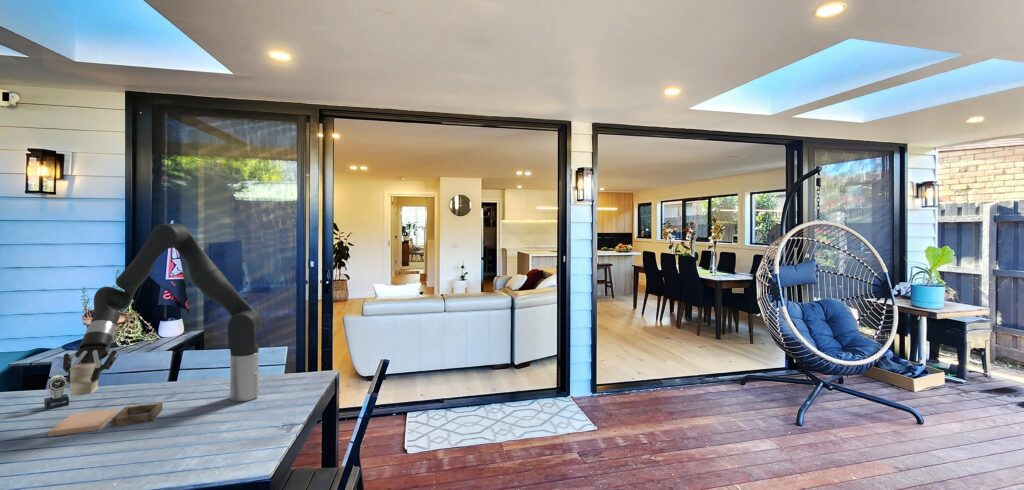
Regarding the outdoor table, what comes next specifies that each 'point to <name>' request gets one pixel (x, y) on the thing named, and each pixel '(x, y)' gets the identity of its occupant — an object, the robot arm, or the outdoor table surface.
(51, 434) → the terracotta tile
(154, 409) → the walnut pocket frame
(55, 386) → the watch
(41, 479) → the outdoor table surface
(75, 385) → the ash block
